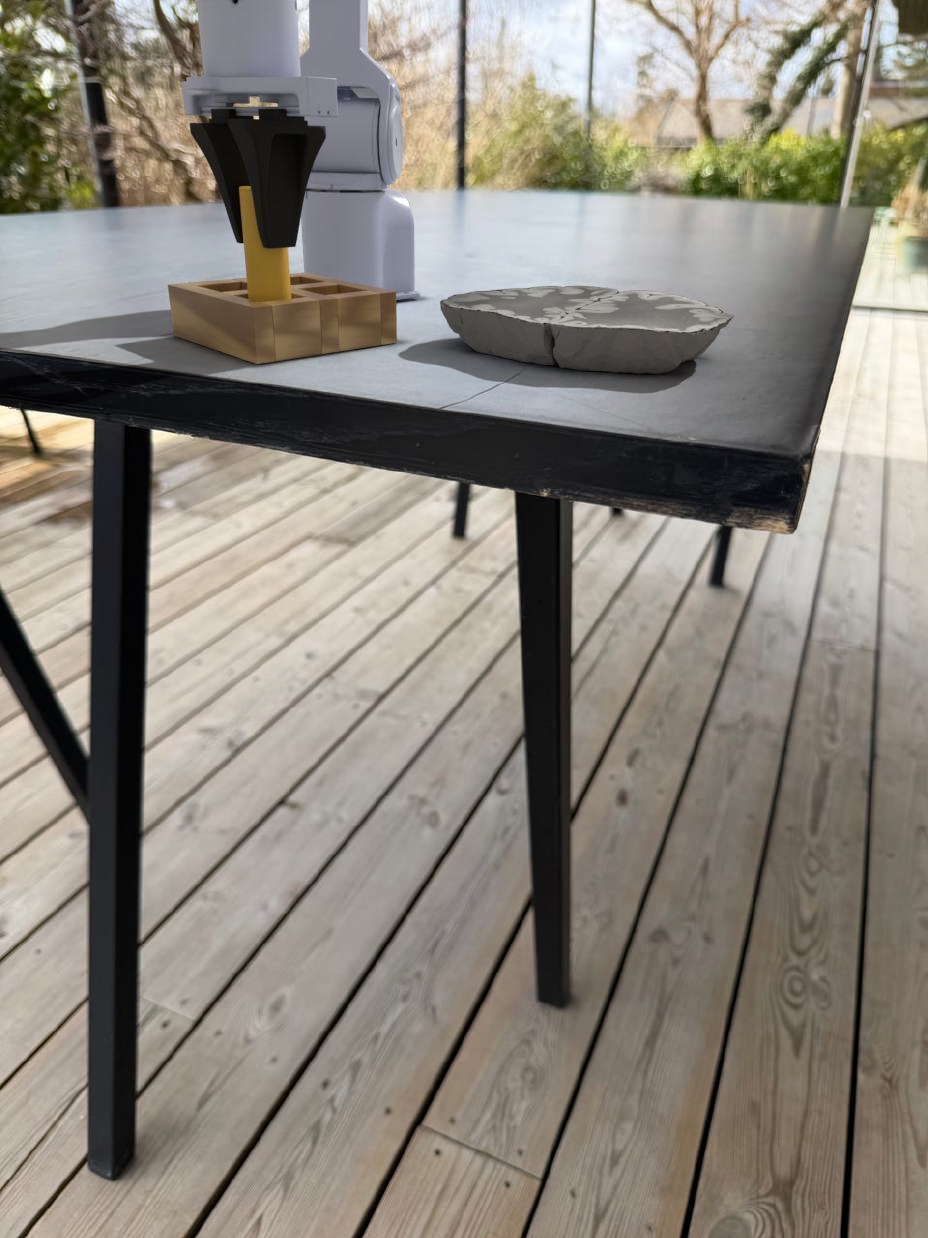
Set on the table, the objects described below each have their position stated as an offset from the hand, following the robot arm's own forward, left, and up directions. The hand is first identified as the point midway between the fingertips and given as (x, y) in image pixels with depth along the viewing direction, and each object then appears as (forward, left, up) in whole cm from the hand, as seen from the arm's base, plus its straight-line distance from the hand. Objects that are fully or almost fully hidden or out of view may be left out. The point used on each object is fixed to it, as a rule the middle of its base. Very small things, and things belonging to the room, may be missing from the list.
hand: (265, 244), depth 59 cm
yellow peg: (0, 0, -5) cm, 5 cm away
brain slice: (-18, +13, -7) cm, 23 cm away
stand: (-2, -2, -7) cm, 7 cm away
